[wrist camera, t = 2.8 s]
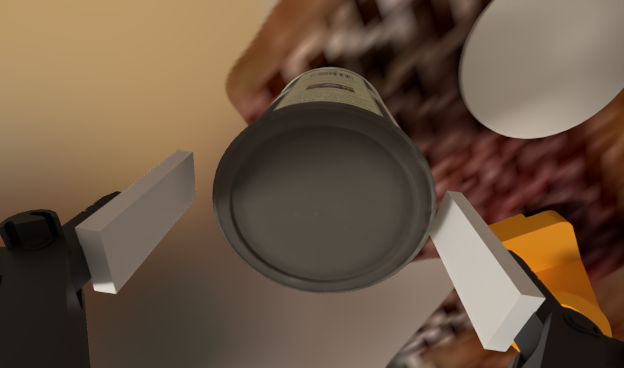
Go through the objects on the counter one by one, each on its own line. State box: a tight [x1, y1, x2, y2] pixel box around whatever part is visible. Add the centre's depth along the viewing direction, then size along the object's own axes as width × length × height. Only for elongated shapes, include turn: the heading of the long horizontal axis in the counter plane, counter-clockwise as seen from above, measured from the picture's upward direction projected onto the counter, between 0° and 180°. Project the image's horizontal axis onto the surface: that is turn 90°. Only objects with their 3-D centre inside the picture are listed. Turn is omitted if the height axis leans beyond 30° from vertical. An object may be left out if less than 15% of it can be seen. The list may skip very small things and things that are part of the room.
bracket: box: [488, 210, 612, 352], centre depth 25 cm, size 11×7×12 cm, turn 121°
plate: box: [458, 0, 624, 139], centre depth 21 cm, size 12×12×1 cm
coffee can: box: [212, 67, 436, 294], centre depth 20 cm, size 10×10×14 cm
